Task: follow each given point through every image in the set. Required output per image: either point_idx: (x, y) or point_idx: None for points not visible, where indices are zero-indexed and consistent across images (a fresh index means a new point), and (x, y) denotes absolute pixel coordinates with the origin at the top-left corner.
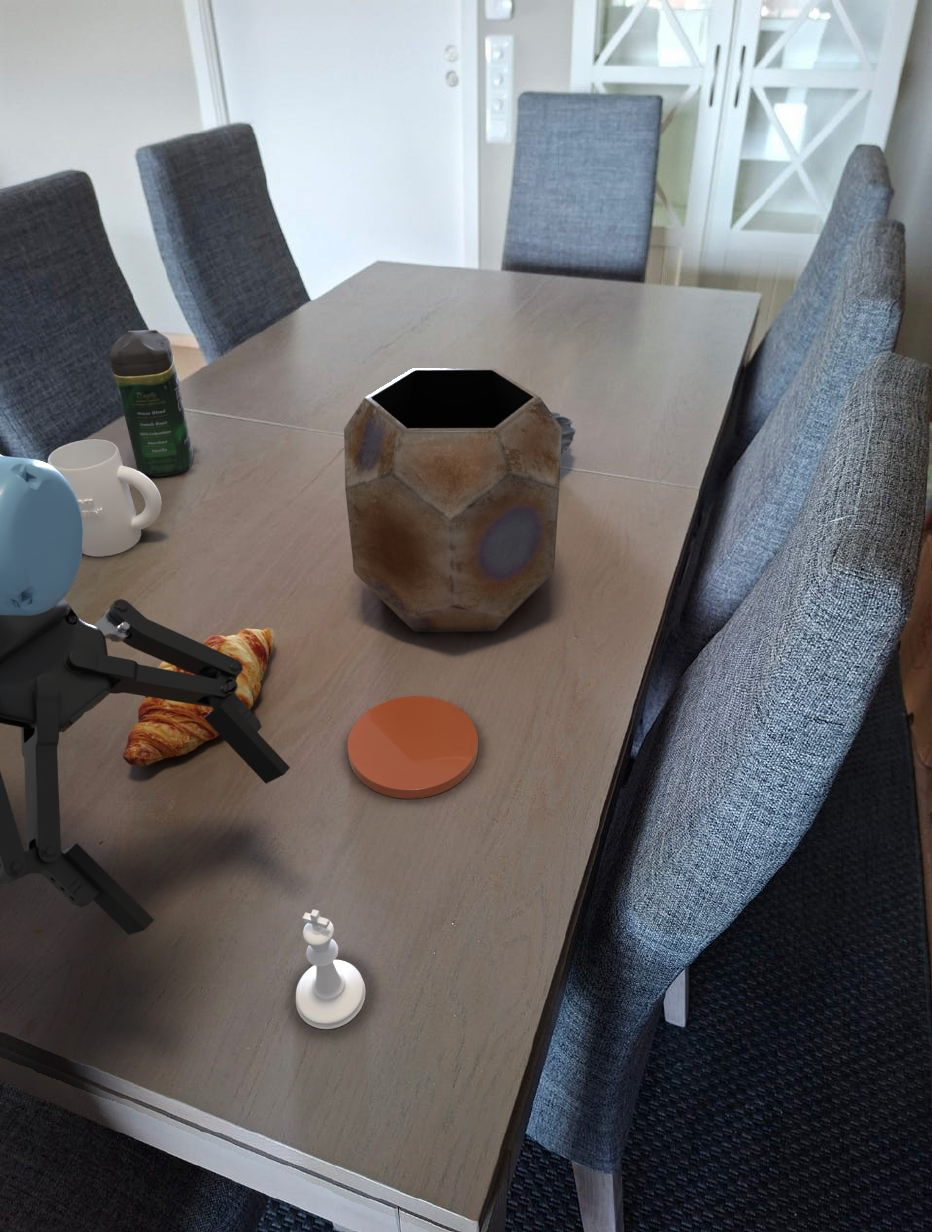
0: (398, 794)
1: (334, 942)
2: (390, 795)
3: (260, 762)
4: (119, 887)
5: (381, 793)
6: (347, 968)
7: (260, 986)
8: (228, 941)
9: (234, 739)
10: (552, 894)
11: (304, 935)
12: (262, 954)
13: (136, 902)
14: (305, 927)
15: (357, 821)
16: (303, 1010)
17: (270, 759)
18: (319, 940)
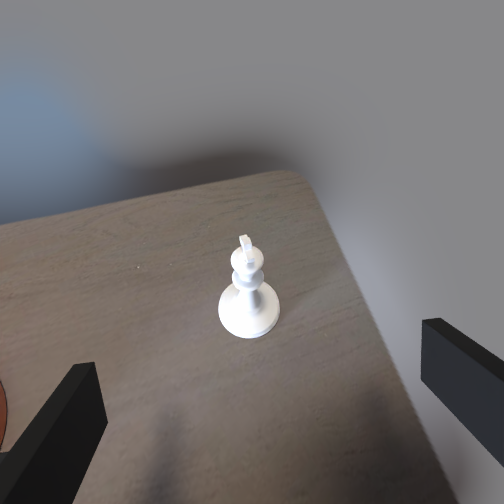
0: (2, 402)
1: (235, 270)
2: (5, 415)
3: (85, 417)
4: (473, 357)
5: (4, 428)
6: (225, 302)
7: (280, 368)
8: (264, 437)
9: (56, 490)
10: (78, 220)
11: (259, 265)
12: (254, 392)
13: (445, 338)
14: (252, 269)
15: None
16: (277, 309)
17: (77, 385)
18: (255, 249)
